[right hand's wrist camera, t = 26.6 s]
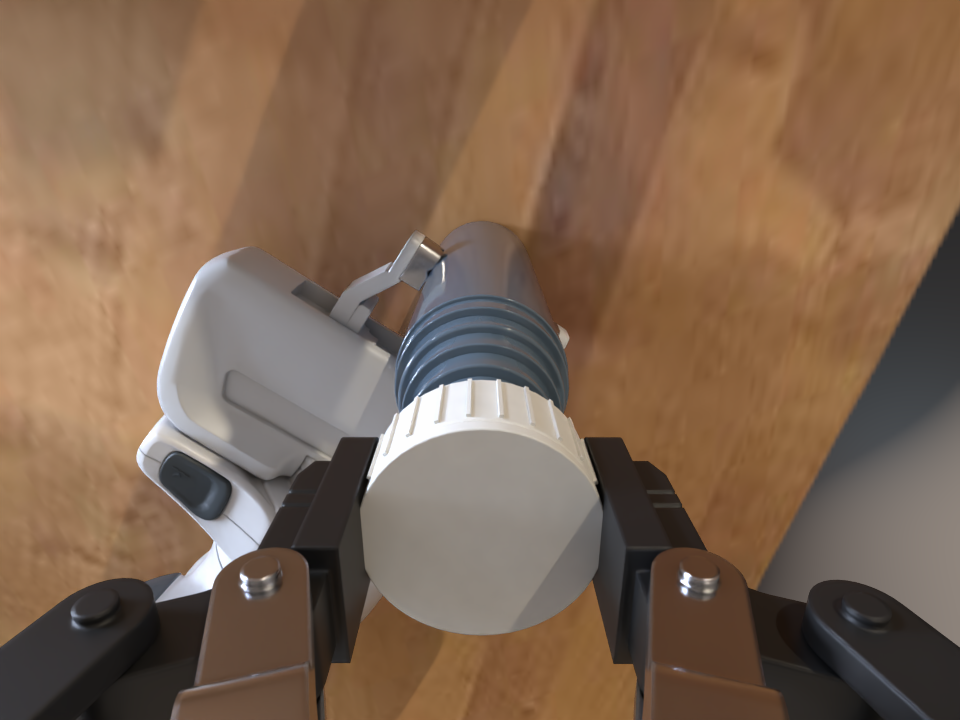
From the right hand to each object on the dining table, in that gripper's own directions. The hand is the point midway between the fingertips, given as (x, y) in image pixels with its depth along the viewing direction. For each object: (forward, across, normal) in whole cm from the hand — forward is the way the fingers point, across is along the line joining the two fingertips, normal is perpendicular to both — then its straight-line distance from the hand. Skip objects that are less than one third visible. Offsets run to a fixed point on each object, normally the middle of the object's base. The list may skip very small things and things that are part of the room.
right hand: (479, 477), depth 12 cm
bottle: (+20, 0, 0) cm, 20 cm away
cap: (-2, 0, 0) cm, 2 cm away
